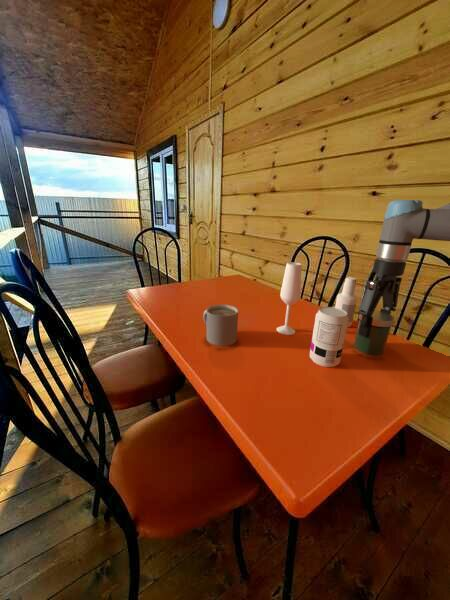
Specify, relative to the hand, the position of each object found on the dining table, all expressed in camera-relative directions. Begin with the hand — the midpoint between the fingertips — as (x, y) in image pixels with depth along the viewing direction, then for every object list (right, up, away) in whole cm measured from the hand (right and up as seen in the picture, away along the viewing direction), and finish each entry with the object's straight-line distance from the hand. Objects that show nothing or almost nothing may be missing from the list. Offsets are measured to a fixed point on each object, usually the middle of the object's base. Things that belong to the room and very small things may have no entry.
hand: (372, 332), depth 78 cm
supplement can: (-17, -7, -5) cm, 19 cm away
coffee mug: (-47, -2, +6) cm, 48 cm away
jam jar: (0, -5, +2) cm, 6 cm away
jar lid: (0, +5, -2) cm, 5 cm away
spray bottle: (-1, +1, +19) cm, 19 cm away
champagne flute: (-24, -1, +12) cm, 27 cm away
